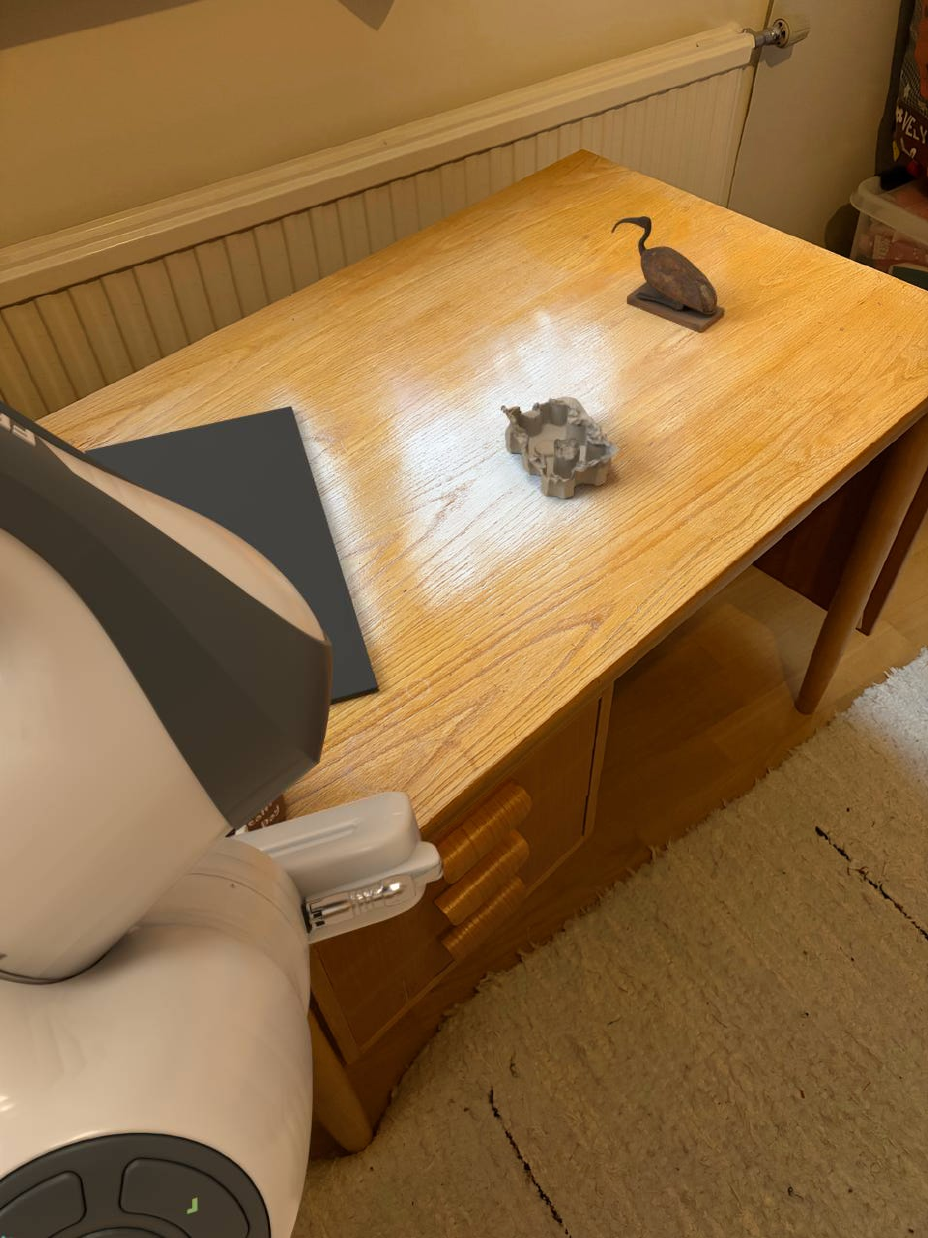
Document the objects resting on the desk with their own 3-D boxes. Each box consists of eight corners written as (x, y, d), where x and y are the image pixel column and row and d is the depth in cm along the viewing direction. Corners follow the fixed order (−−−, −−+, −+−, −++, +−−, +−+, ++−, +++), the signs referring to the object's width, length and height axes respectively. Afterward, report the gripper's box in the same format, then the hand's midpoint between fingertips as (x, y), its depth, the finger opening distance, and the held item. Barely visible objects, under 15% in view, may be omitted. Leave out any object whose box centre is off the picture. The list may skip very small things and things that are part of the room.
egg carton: (496, 438, 83) (495, 402, 80) (566, 417, 85) (568, 381, 82) (546, 507, 77) (547, 471, 74) (621, 482, 79) (626, 446, 75)
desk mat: (103, 767, 62) (100, 762, 61) (86, 455, 84) (84, 450, 83) (379, 691, 65) (378, 686, 64) (292, 410, 87) (291, 405, 87)
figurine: (594, 290, 99) (601, 214, 93) (617, 274, 101) (625, 198, 95) (701, 333, 93) (717, 255, 86) (724, 315, 95) (740, 237, 88)
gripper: (432, 804, 35) (395, 737, 49) (-108, 966, 32) (14, 846, 45) (469, 950, 36) (423, 844, 49) (-56, 1123, 33) (49, 958, 46)
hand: (224, 846), depth 47 cm, fingers closed
